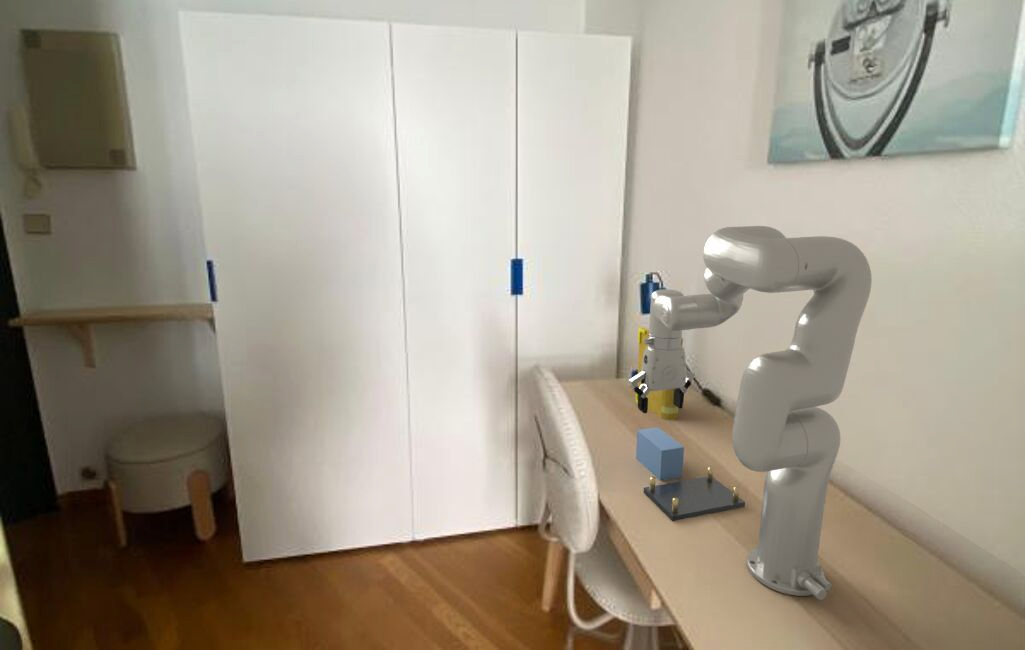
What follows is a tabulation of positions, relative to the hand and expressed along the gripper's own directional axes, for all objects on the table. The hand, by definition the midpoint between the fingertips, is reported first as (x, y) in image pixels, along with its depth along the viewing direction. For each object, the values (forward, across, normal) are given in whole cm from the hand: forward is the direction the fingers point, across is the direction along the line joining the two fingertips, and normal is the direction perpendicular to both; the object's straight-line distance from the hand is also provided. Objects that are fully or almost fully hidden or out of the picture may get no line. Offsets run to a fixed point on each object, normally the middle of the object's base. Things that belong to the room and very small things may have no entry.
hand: (660, 408), depth 134 cm
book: (+16, +20, +33) cm, 42 cm away
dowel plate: (+15, 0, -16) cm, 22 cm away
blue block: (+16, 0, -1) cm, 16 cm away
